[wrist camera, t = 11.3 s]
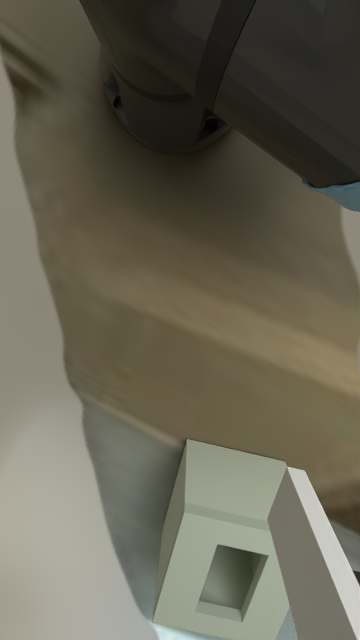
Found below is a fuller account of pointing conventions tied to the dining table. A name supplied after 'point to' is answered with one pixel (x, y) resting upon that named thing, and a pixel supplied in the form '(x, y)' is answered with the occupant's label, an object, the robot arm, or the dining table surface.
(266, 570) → the box
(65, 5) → the dining table surface
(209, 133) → the robot arm
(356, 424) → the dining table surface
